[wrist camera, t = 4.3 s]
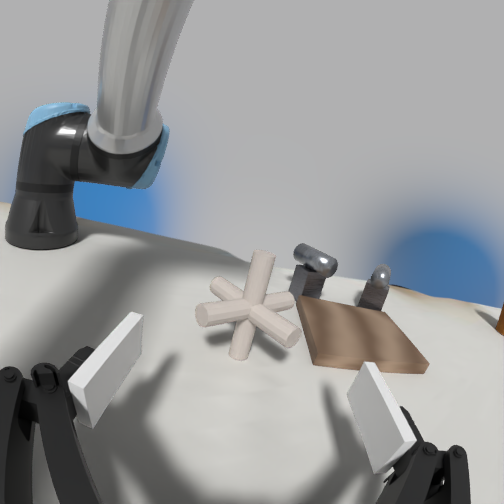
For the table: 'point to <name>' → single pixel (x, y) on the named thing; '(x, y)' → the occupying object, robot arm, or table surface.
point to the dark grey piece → (376, 289)
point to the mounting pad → (356, 338)
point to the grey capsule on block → (311, 271)
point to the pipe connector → (250, 308)
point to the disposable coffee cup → (501, 322)
